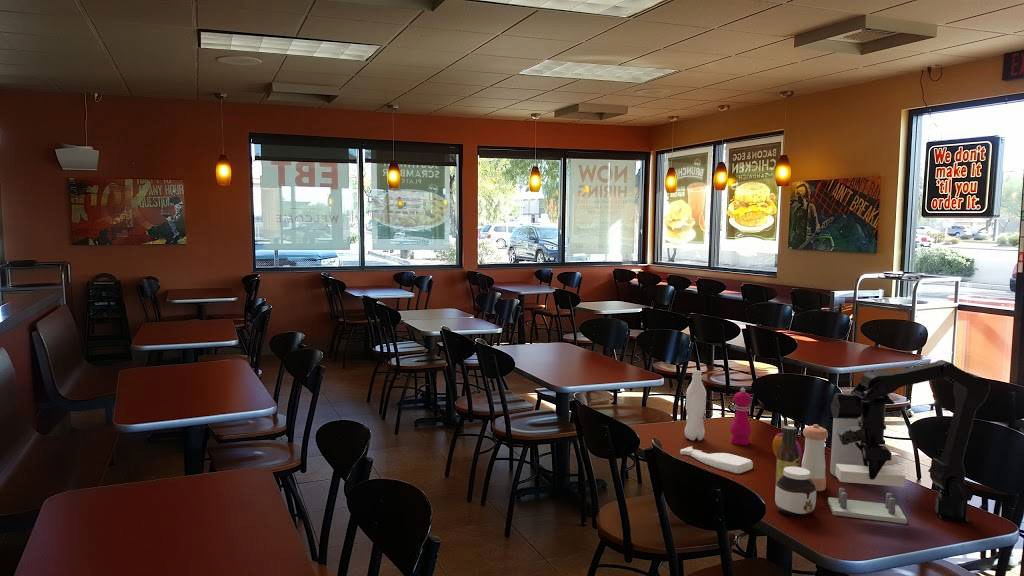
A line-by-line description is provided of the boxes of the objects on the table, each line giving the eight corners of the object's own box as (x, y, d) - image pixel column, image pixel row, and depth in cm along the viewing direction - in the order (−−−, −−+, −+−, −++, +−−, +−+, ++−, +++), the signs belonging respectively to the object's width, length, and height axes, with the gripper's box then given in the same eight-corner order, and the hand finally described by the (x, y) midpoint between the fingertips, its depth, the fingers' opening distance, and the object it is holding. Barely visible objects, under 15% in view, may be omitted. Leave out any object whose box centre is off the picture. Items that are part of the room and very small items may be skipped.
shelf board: (897, 479, 200) (898, 468, 200) (904, 486, 194) (905, 475, 194) (835, 474, 204) (835, 463, 203) (840, 481, 198) (840, 470, 197)
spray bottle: (736, 476, 229) (673, 457, 248) (756, 468, 236) (692, 450, 255) (737, 466, 229) (673, 448, 248) (756, 459, 236) (693, 442, 255)
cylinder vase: (851, 467, 238) (856, 392, 235) (883, 480, 226) (888, 401, 223) (821, 471, 233) (825, 394, 231) (851, 485, 222) (856, 404, 219)
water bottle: (707, 438, 267) (710, 370, 265) (700, 442, 261) (703, 374, 259) (688, 434, 271) (690, 368, 269) (681, 439, 265) (684, 371, 263)
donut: (794, 459, 245) (795, 430, 244) (802, 468, 236) (804, 438, 235) (770, 458, 246) (771, 429, 245) (777, 467, 236) (778, 437, 235)
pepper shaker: (801, 480, 225) (805, 419, 223) (827, 485, 221) (830, 423, 219) (797, 488, 219) (800, 425, 217) (823, 493, 215) (827, 429, 213)
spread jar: (787, 519, 196) (790, 477, 194) (762, 503, 206) (764, 463, 205) (825, 514, 199) (828, 473, 198) (798, 499, 210) (800, 459, 209)
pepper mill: (725, 440, 265) (728, 386, 263) (742, 438, 267) (745, 384, 265) (737, 446, 258) (740, 390, 256) (755, 444, 260) (757, 389, 258)
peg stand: (897, 509, 203) (899, 491, 203) (906, 523, 194) (907, 504, 193) (827, 501, 208) (829, 483, 208) (832, 514, 199) (834, 496, 198)
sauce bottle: (799, 499, 210) (803, 431, 208) (776, 497, 211) (780, 430, 209) (795, 491, 216) (799, 425, 214) (773, 489, 217) (776, 423, 215)
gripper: (834, 408, 208) (832, 461, 210) (846, 426, 191) (843, 484, 192) (877, 411, 206) (874, 465, 207) (893, 429, 188) (889, 488, 189)
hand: (869, 475), depth 199 cm, fingers closed on shelf board, 6 cm apart
